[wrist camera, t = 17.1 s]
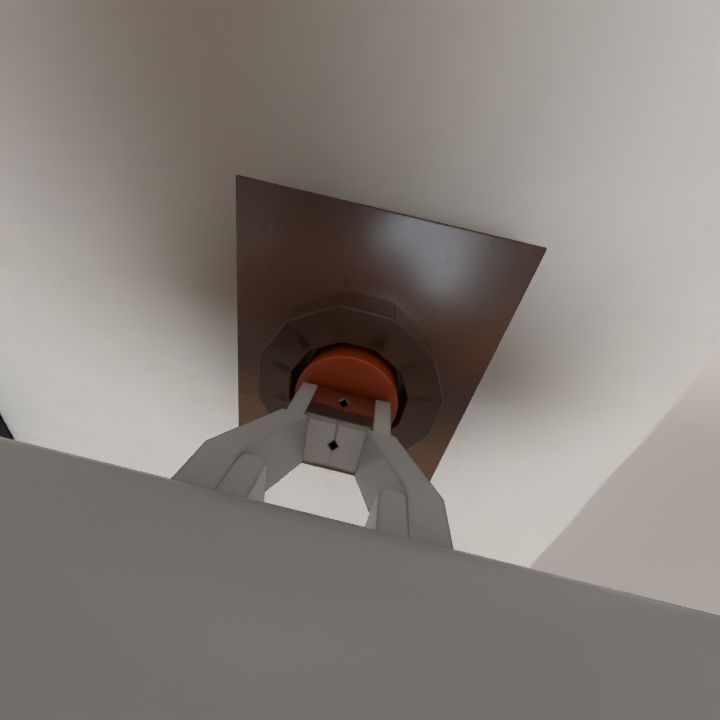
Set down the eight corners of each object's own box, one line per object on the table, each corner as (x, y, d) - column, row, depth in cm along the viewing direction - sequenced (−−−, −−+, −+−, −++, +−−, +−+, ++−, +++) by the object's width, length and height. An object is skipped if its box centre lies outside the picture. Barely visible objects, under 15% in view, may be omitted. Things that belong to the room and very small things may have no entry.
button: (314, 326, 10) (299, 344, 8) (408, 348, 10) (411, 371, 8) (304, 402, 11) (290, 430, 10) (384, 422, 11) (383, 453, 10)
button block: (265, 185, 10) (195, 159, 6) (517, 245, 10) (587, 251, 6) (258, 420, 15) (217, 476, 12) (420, 459, 15) (428, 528, 12)
